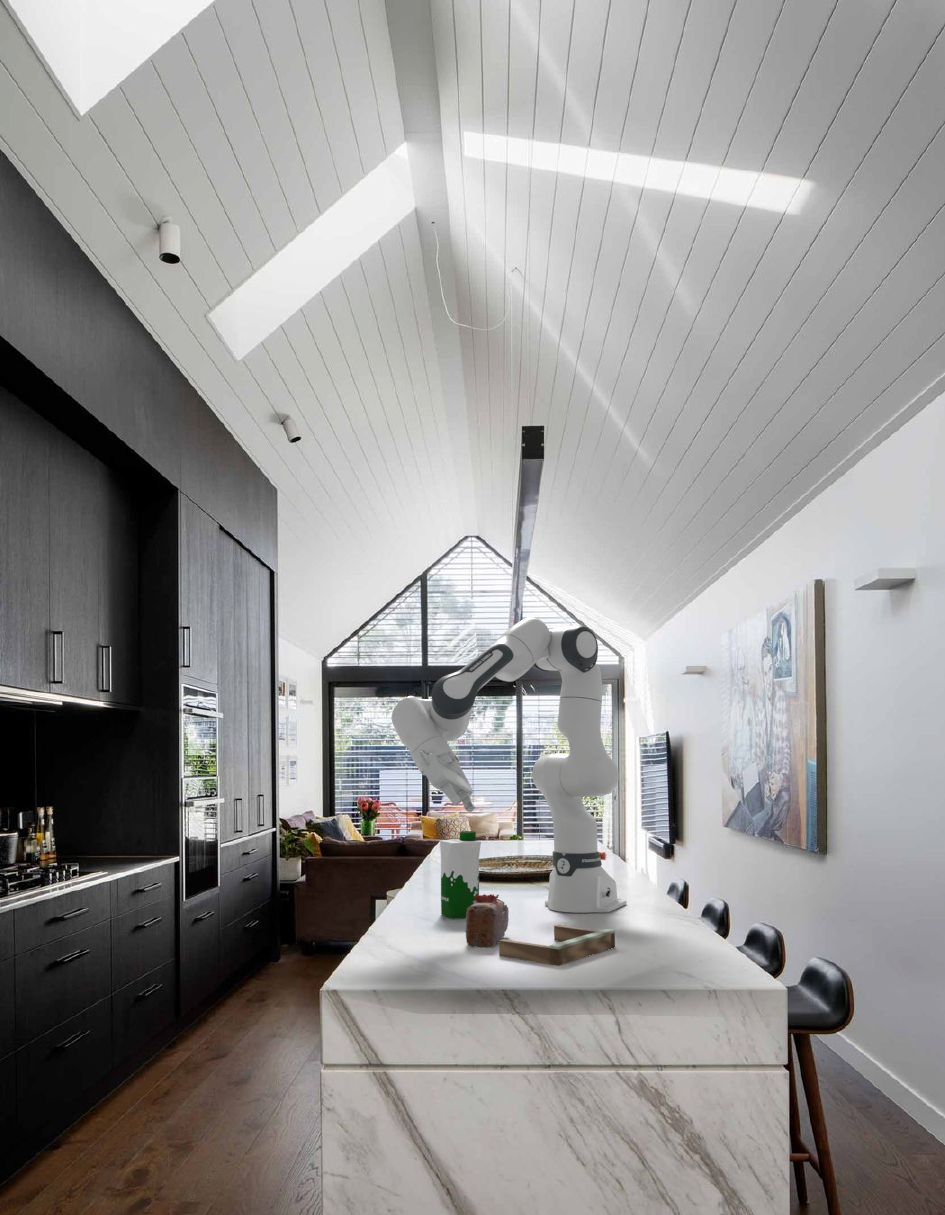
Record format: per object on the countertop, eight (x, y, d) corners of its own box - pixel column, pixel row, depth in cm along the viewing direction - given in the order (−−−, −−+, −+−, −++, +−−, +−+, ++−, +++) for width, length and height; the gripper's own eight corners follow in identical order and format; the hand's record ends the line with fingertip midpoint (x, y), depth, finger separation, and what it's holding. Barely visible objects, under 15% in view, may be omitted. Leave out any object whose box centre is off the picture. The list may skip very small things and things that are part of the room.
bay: (558, 939, 211) (558, 922, 212) (615, 947, 202) (614, 930, 203) (499, 956, 195) (499, 937, 195) (558, 965, 186) (558, 946, 187)
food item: (474, 934, 217) (474, 888, 218) (510, 936, 216) (510, 889, 217) (463, 947, 204) (463, 898, 205) (501, 948, 202) (501, 899, 204)
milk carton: (484, 917, 238) (484, 832, 241) (450, 920, 234) (450, 834, 237) (469, 911, 246) (469, 830, 249) (435, 914, 242) (436, 831, 245)
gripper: (429, 739, 218) (460, 790, 212) (459, 759, 236) (489, 806, 230) (406, 756, 218) (437, 807, 212) (438, 774, 237) (468, 822, 230)
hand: (464, 807), depth 221 cm, fingers open, 8 cm apart
